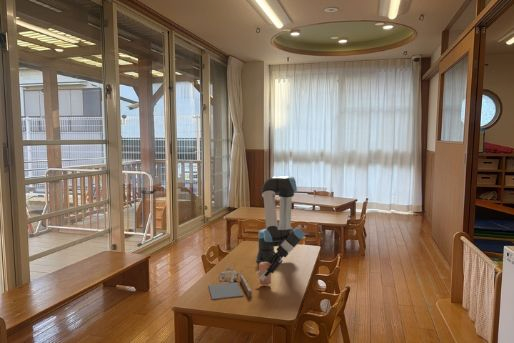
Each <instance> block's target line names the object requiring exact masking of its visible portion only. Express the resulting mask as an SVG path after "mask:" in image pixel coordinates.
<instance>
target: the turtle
mask: <svg viewBox="0 0 514 343" xmlns="http://www.w3.org/2000/svg"><path fill="white" fill-rule="evenodd" d="M242 272H243V271H242V270H239V271H236V270H234V267H233V266H229V267H226V268H225V271H221V273H219V274H220V275H219V280H220V281H221V282H227V283H235V281H237V280H238V279H239V275H241V274H242Z"/></svg>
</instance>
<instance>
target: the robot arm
mask: <svg viewBox="0 0 514 343" xmlns="http://www.w3.org/2000/svg"><path fill="white" fill-rule="evenodd" d="M297 191H298V190H297V182H296V179H295V177H294V176H271V177H269V178H268V179H267V180H266V181H264V183H263V185H262V188H261V196H262V198H263V205H264V216H265V225H266V226H265V227H266V228H263V229H261V230H259V231H258V233H257V234H258V235H257V238H258V239H257V240H258V252H257V254H256V257H255V259H256V262H257V263H261V262H269V263H271V265H270V267H269V269H267V270H266V271H265V272H264V273H263V274H262V276H261V277H259V280H260V279H261V280H262V281H263V280H264V279H265V278H266V277H267V276H268V275H269V274H270V273H271V274H273V273H274V272H275V270H277V268H278V267H279V266H280V264H282V263H283V258H286V257H288V255H289V253H292V251H293V250H294V248H295V247H297V245H298V244H299V243H300V242H301V241H302V240H303V238H304V237H305V236H306V233H305V231H303V230H302V229H301V228H299V227H298V226H296V227H295V228H293V227H292V206H293V203H292V202H293V199H292V198H293V197H294V196H295V194H296V193H297ZM276 194H277V196H278V197H279V214H278V215H279V220H278V217H277V216H278V215H277V207H276V198H275V196H276ZM278 225H279V226H278ZM275 247H277V248H276V251H275ZM256 274H257V276H259V270H258V271H257V272H256Z"/></svg>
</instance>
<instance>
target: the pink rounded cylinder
mask: <svg viewBox="0 0 514 343" xmlns="http://www.w3.org/2000/svg"><path fill="white" fill-rule="evenodd" d="M258 263H259V262H258ZM270 265H271V263H269V262H261V263H259V265H258V269H259V270H258V271H259V275H258V276H259V285H263V286H268V285H271V284H272V273H270V274H269V275H268V276H267V277H266V278H265V279H264V280H263V281H262V280H261V279H260V277H261V276H262V274H263V273H264V272H265V271H266V270H267V269H269V267H270Z"/></svg>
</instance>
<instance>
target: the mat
mask: <svg viewBox="0 0 514 343" xmlns="http://www.w3.org/2000/svg"><path fill="white" fill-rule="evenodd" d="M208 291H209V294H210V297H211V300H212V301H215V300H222V299H223V300H224V299H233V298H242V297H244V294H243V292H242V290H241V288H240V286H239V283H238V282H237V281H236V282H235V281H234V283H231V282H227V283H219V284H218V283H217V284H209V285H208Z"/></svg>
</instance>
